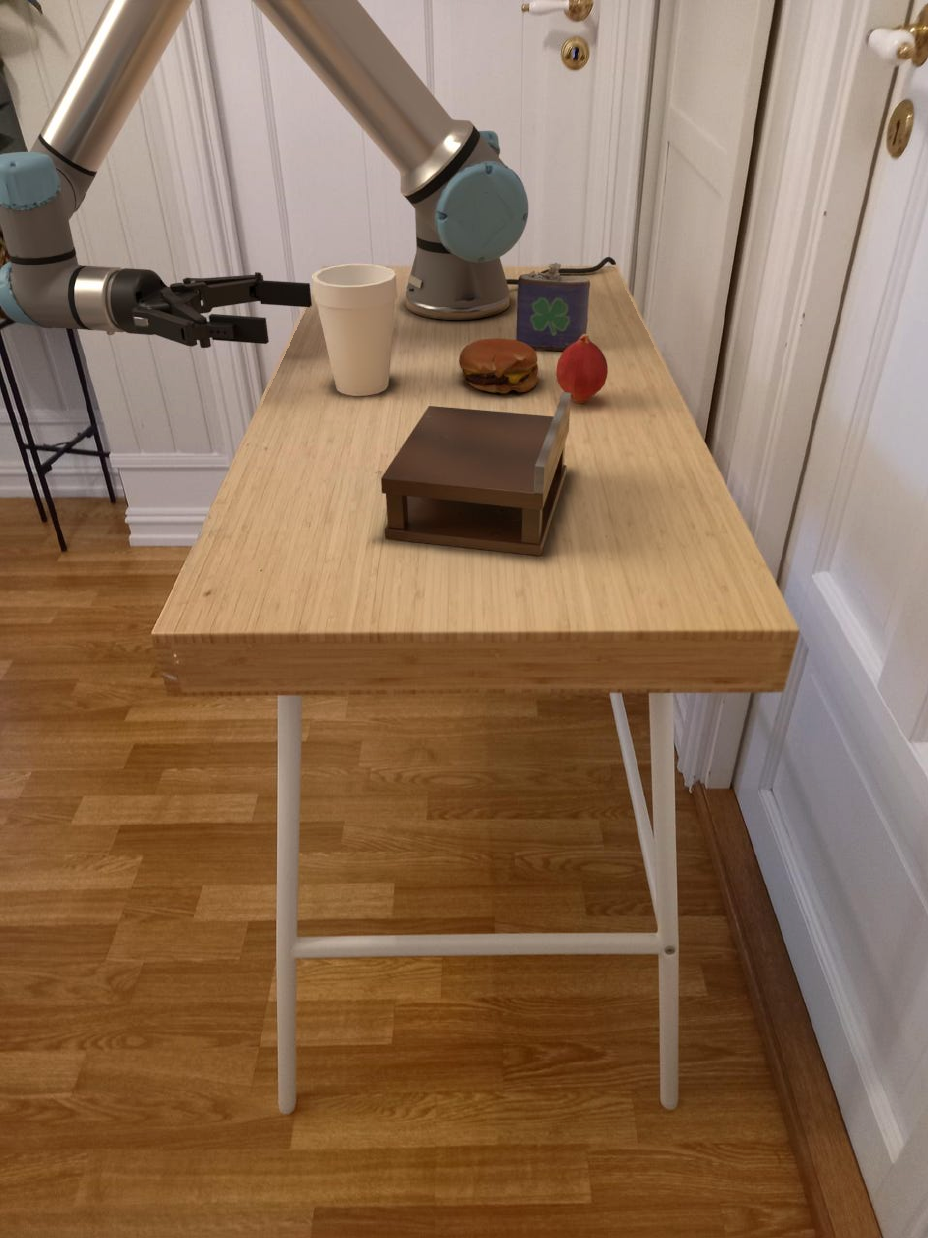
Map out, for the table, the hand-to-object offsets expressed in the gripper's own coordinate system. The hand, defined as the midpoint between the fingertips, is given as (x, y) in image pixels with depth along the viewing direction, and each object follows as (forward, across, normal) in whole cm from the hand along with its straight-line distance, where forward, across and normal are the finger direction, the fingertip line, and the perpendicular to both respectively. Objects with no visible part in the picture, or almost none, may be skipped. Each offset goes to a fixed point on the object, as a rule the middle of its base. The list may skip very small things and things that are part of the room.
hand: (289, 312), depth 109 cm
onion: (+35, 0, -8) cm, 36 cm away
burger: (+24, -5, -8) cm, 26 cm away
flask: (+28, -18, -8) cm, 35 cm away
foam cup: (+8, 0, -8) cm, 12 cm away
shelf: (+29, +26, -8) cm, 40 cm away
